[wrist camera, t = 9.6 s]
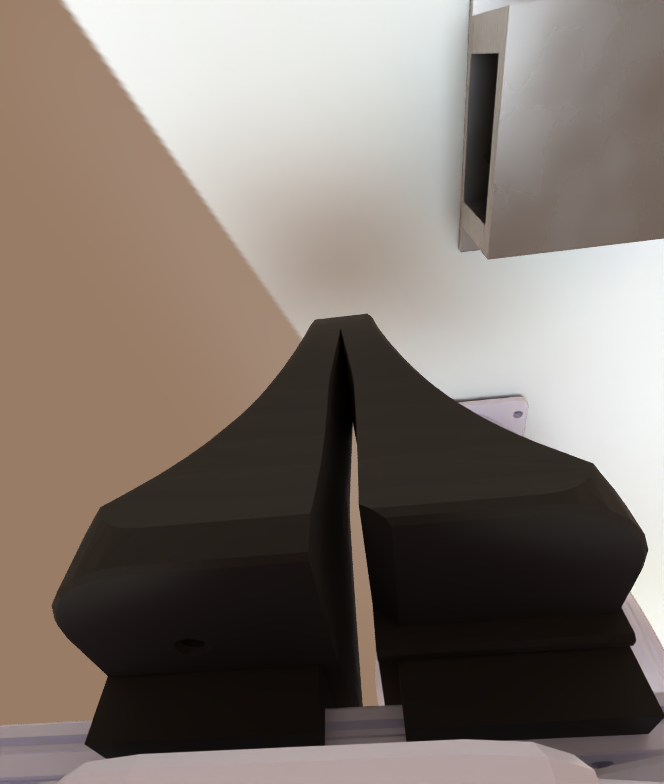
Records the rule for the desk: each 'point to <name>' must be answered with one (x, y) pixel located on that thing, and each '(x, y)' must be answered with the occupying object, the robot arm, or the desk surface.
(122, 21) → the desk surface
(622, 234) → the collar
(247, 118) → the desk surface
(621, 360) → the desk surface
